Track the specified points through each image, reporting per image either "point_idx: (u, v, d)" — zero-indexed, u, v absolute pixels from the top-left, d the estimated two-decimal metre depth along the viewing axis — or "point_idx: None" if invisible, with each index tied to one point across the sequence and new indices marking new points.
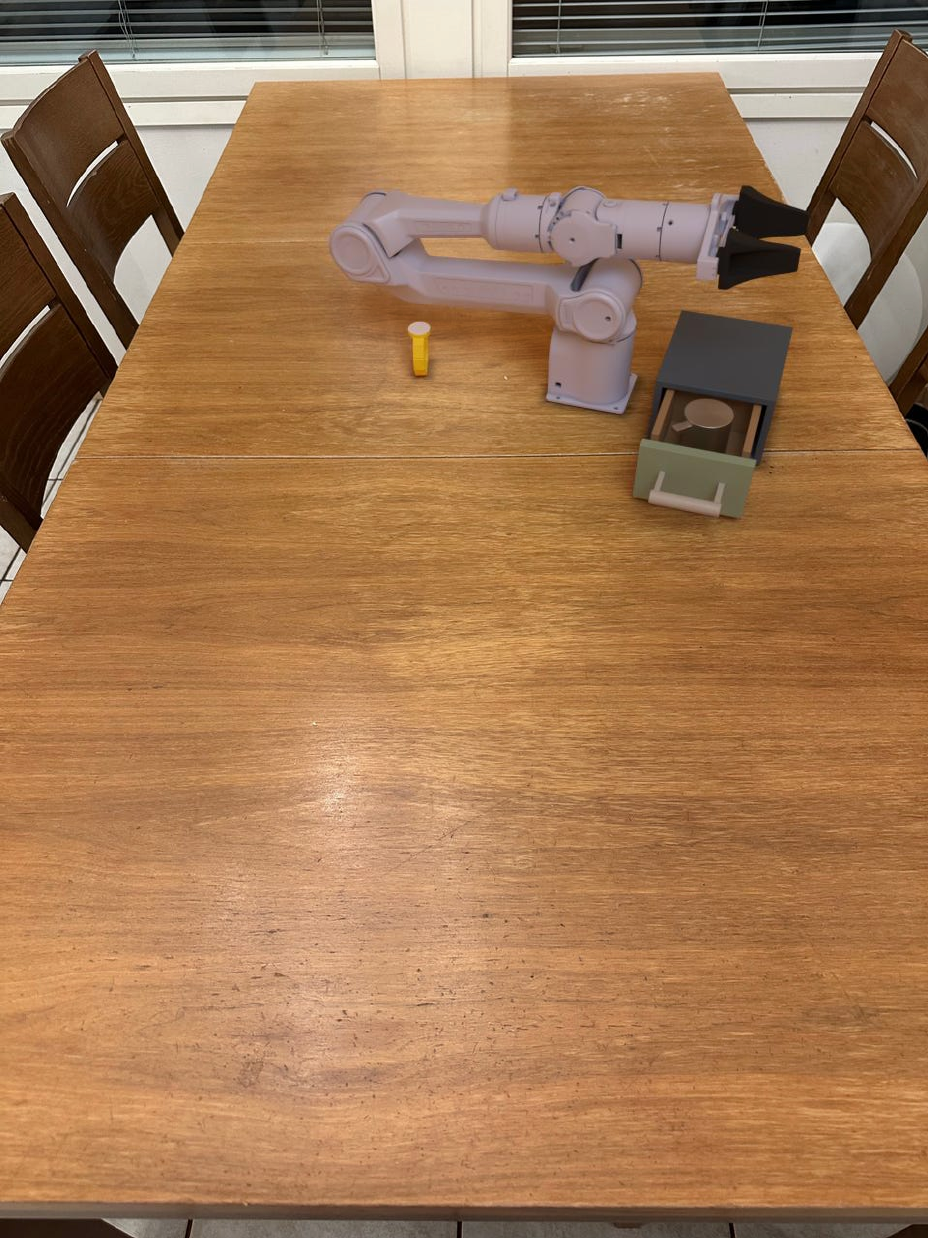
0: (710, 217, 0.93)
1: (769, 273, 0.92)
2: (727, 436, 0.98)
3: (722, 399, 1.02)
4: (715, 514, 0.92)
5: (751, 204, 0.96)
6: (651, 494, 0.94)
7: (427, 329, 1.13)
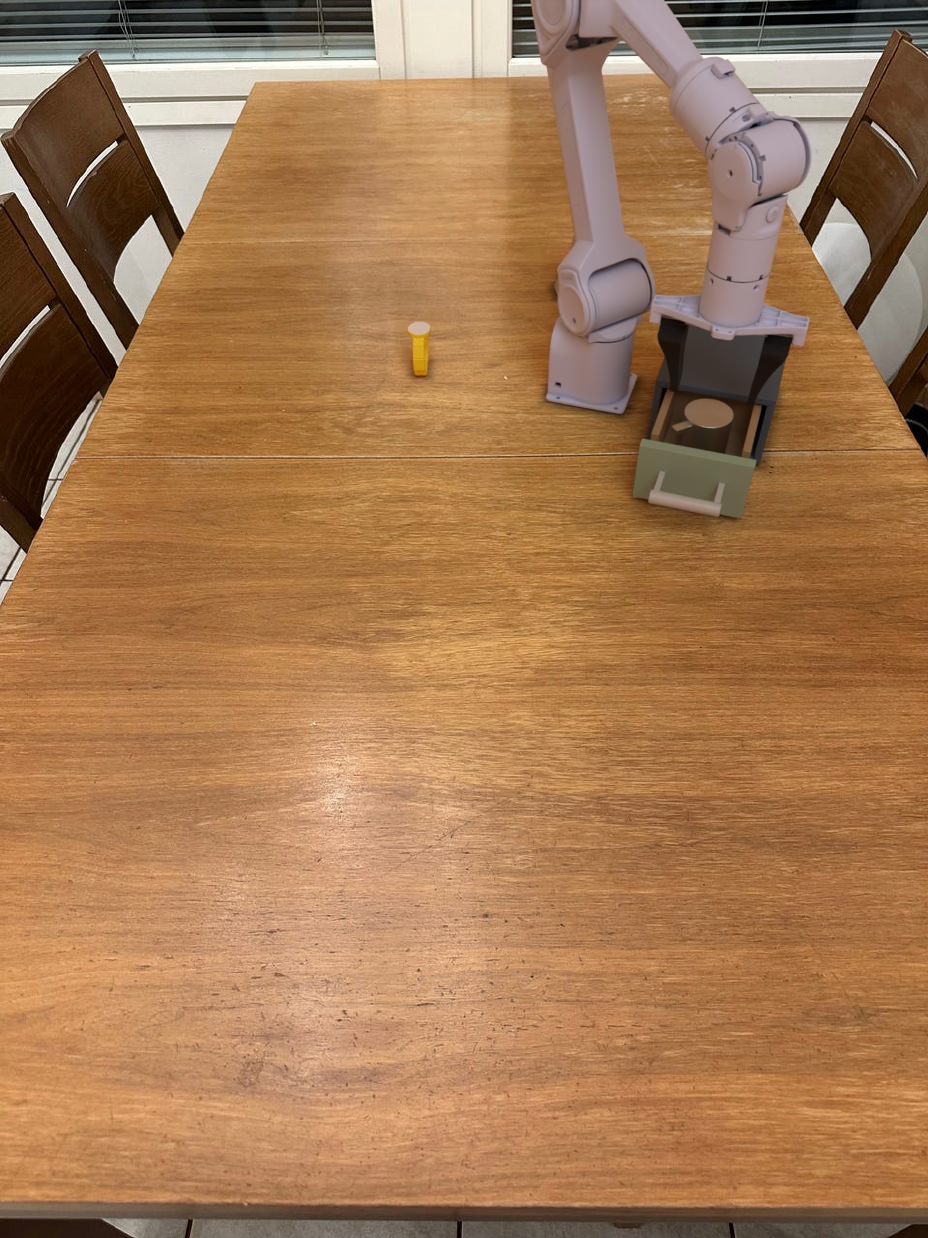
0: (707, 323, 0.88)
1: None
2: (727, 436, 0.98)
3: (722, 399, 1.02)
4: (715, 514, 0.92)
5: None
6: (651, 494, 0.94)
7: (427, 329, 1.13)
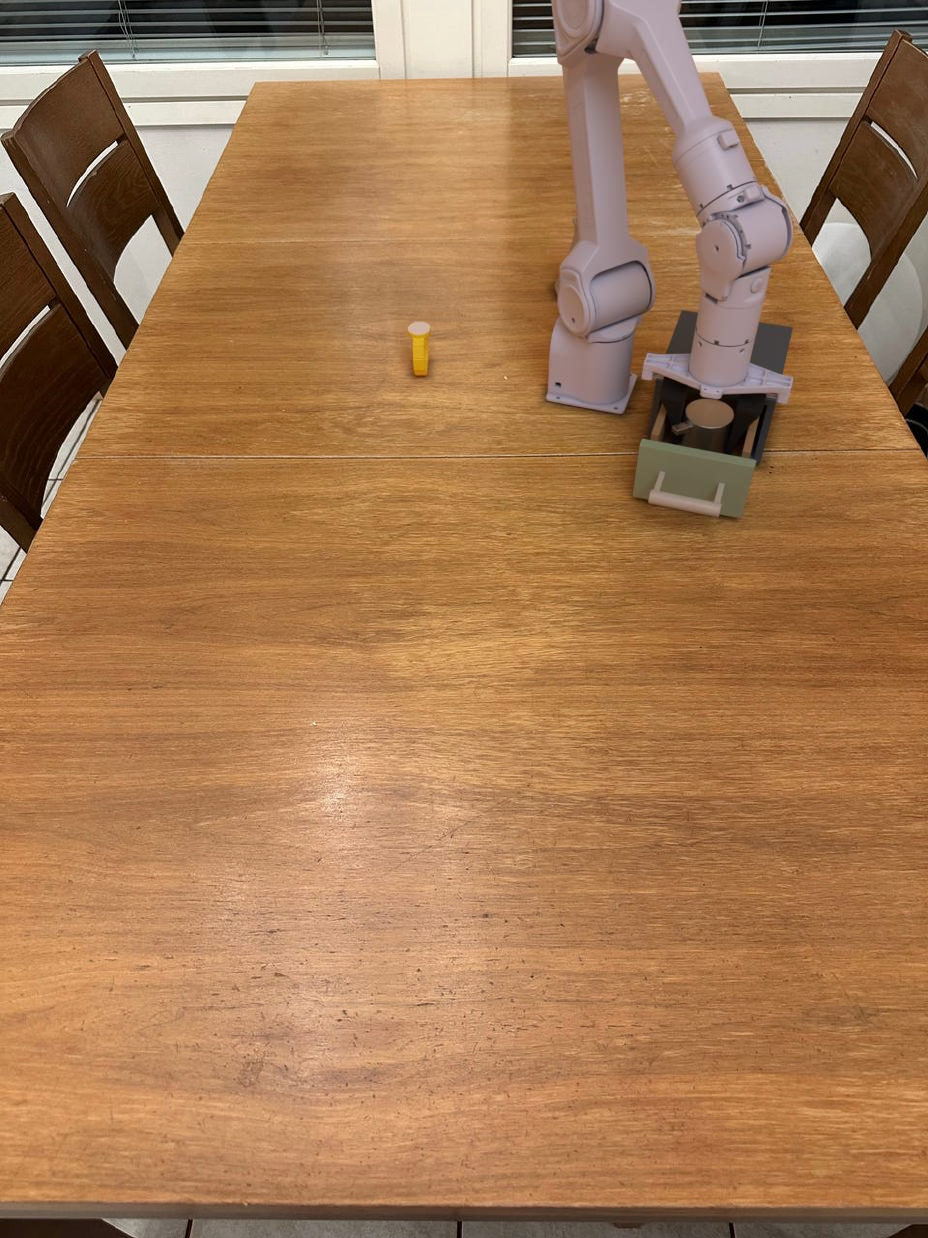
0: (696, 382, 0.93)
1: None
2: (727, 436, 0.98)
3: (722, 399, 1.02)
4: (715, 514, 0.92)
5: None
6: (651, 494, 0.94)
7: (427, 329, 1.13)
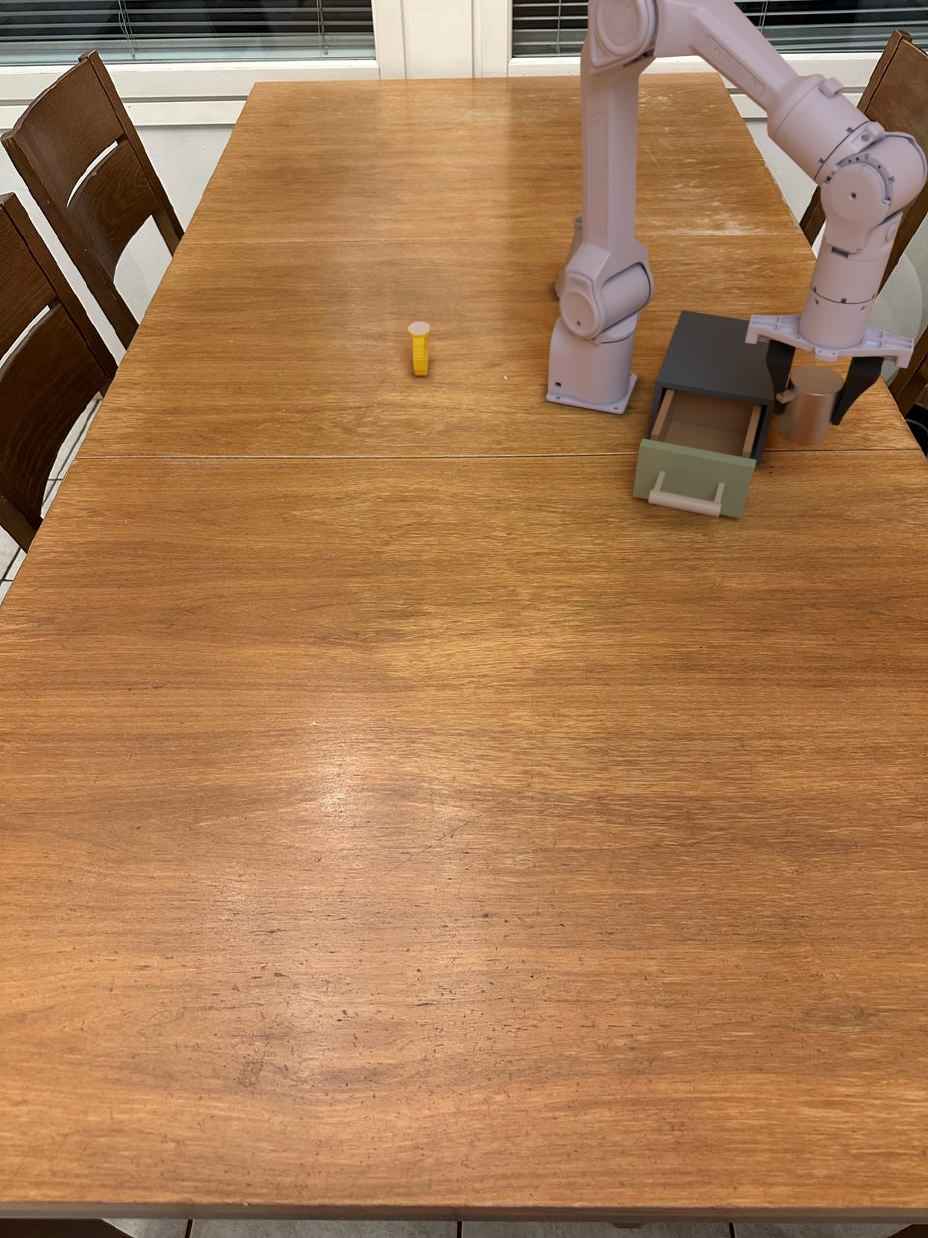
0: (809, 344, 0.85)
1: None
2: (836, 405, 0.91)
3: (722, 399, 1.02)
4: (715, 514, 0.92)
5: (849, 378, 0.88)
6: (651, 494, 0.94)
7: (427, 329, 1.13)
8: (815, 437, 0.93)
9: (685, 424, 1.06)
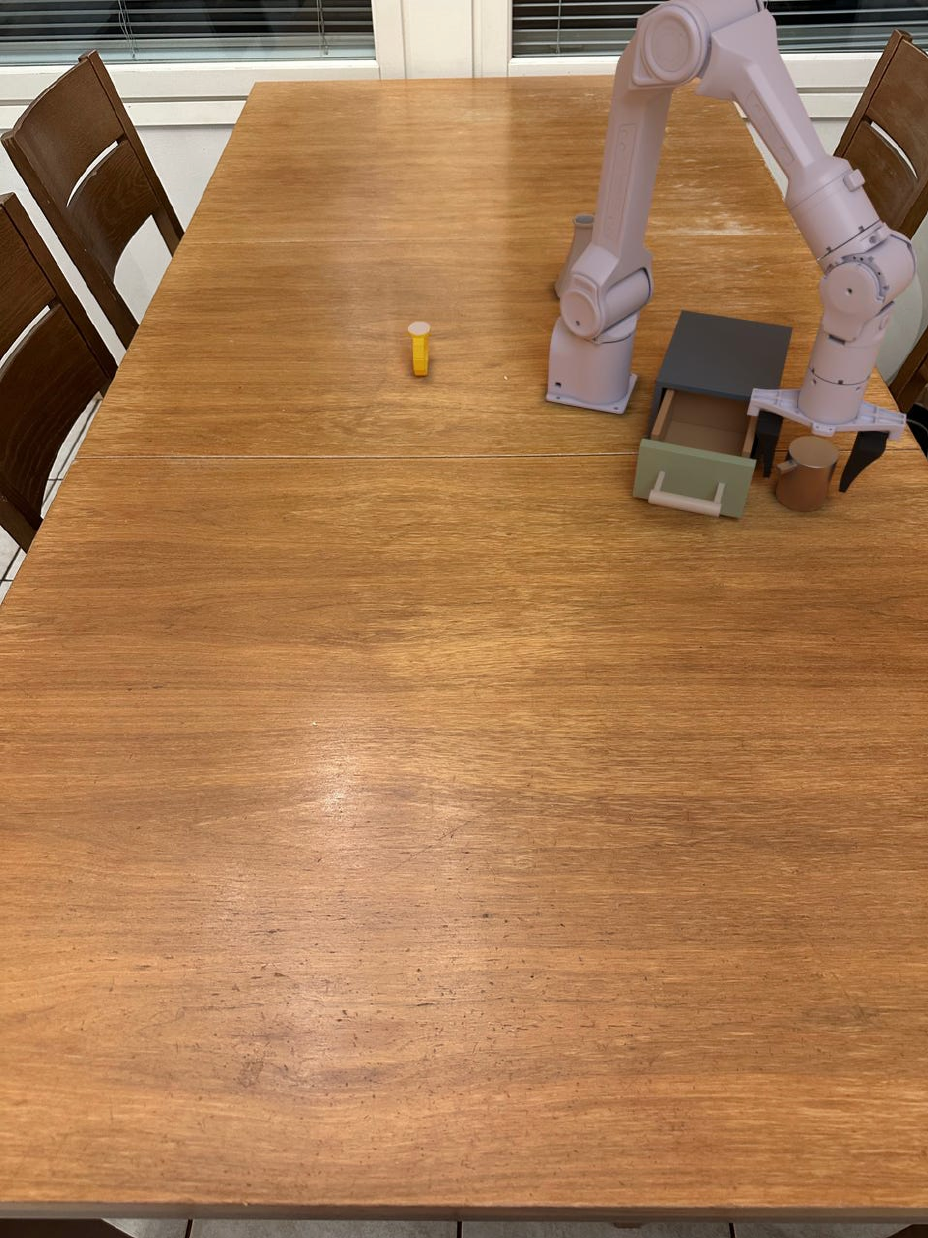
0: (807, 419, 0.91)
1: None
2: (831, 475, 0.96)
3: (722, 399, 1.02)
4: (715, 514, 0.92)
5: (855, 451, 0.93)
6: (651, 494, 0.94)
7: (427, 329, 1.13)
8: (812, 504, 0.98)
9: (685, 424, 1.06)
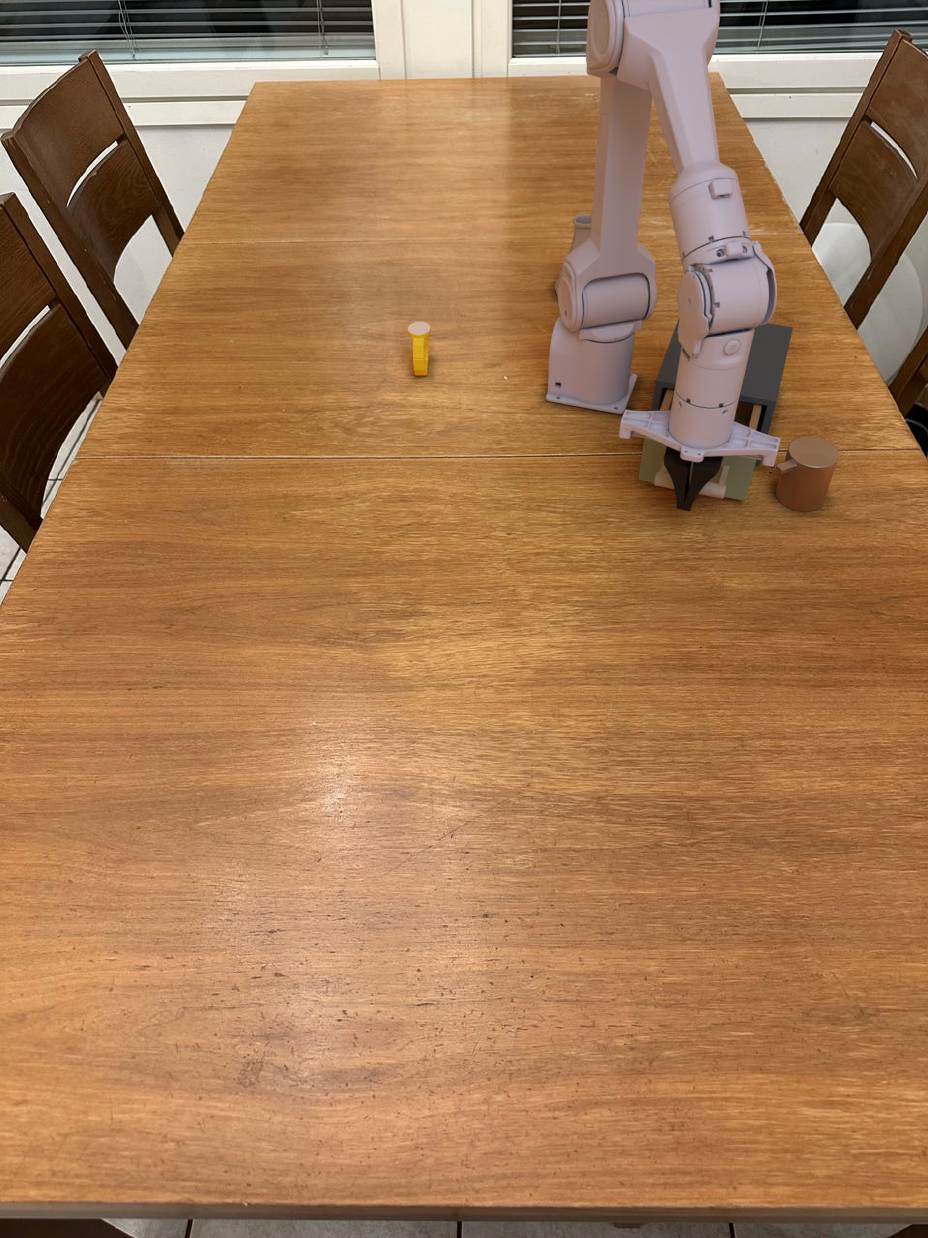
0: (676, 443, 0.87)
1: None
2: (831, 475, 0.96)
3: None
4: (720, 495, 0.94)
5: None
6: (657, 476, 0.95)
7: (427, 329, 1.13)
8: (812, 504, 0.98)
9: None
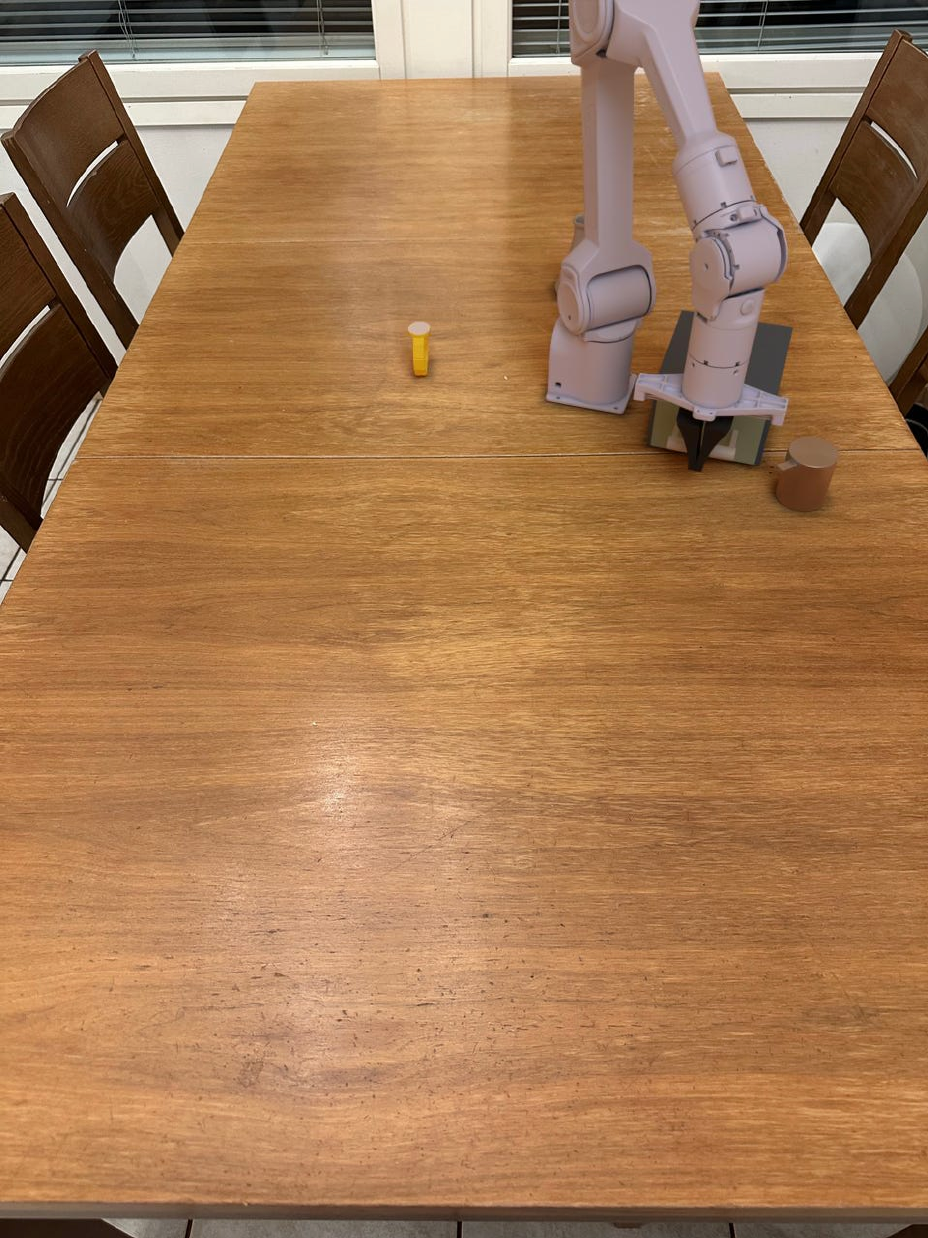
0: (689, 404, 0.90)
1: None
2: (831, 475, 0.96)
3: None
4: (730, 458, 0.98)
5: None
6: (669, 440, 0.99)
7: (427, 329, 1.13)
8: (812, 504, 0.98)
9: None
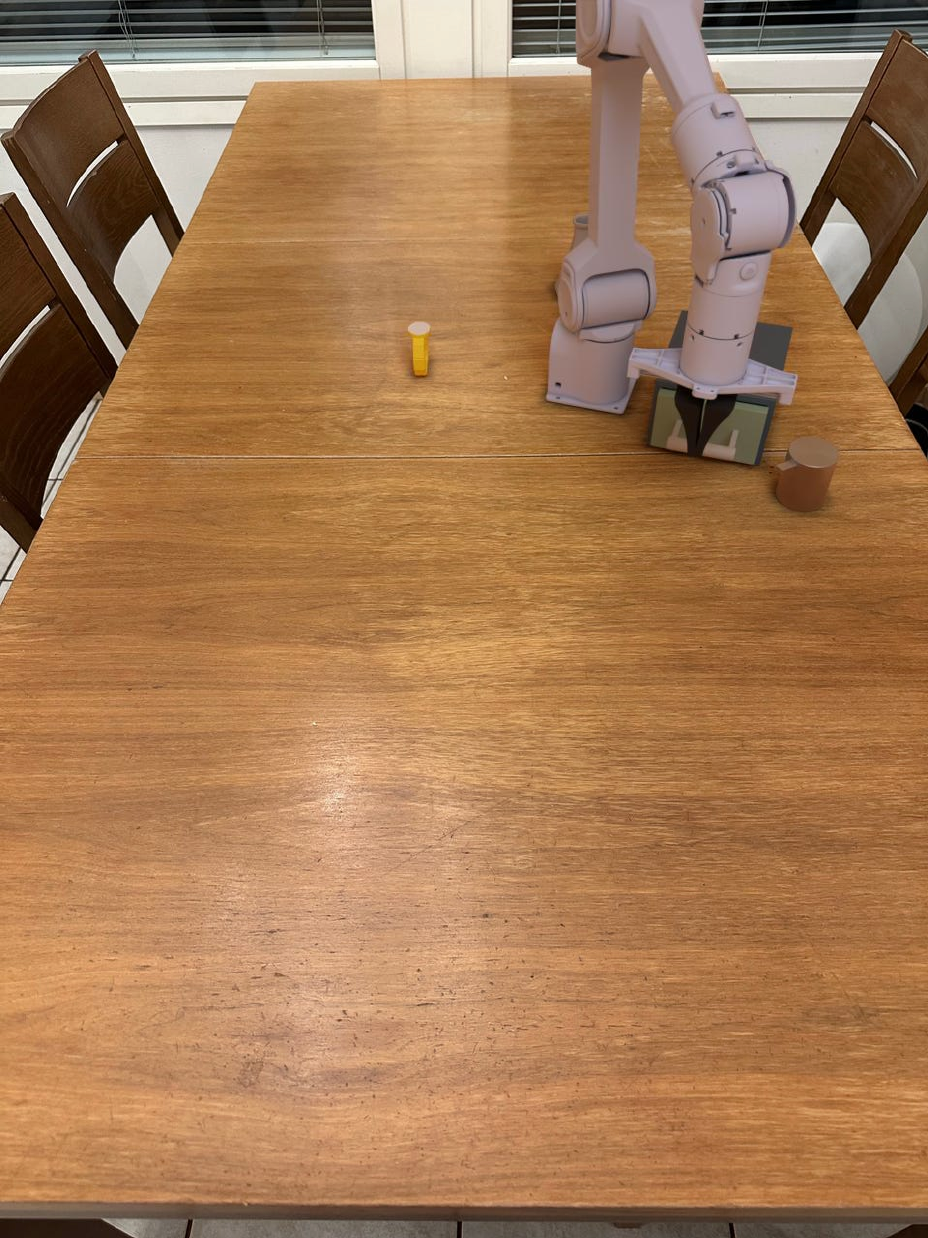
0: (688, 380, 0.82)
1: None
2: (831, 475, 0.96)
3: None
4: (730, 458, 0.98)
5: None
6: (669, 440, 0.99)
7: (427, 329, 1.13)
8: (812, 504, 0.98)
9: None
